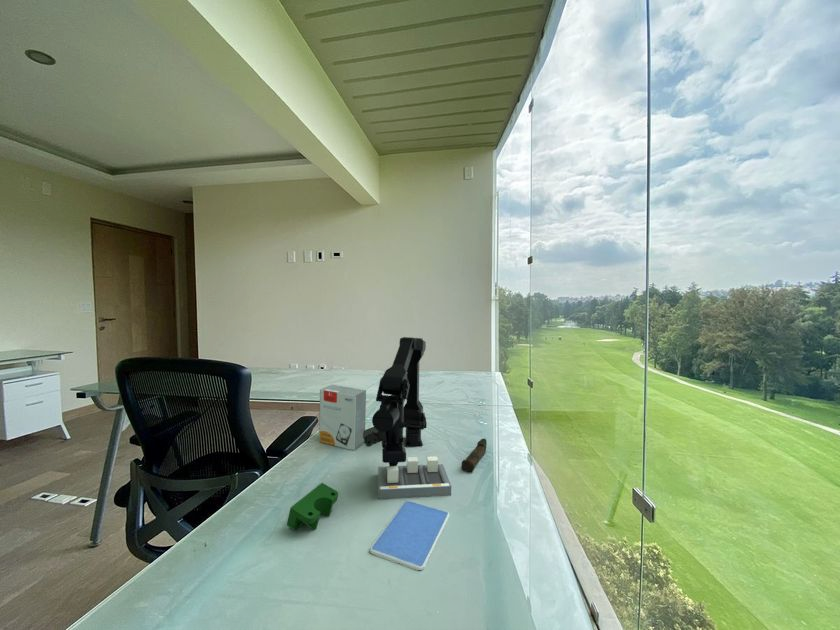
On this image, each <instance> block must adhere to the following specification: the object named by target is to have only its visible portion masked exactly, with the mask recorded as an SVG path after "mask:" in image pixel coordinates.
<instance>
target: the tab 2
mask: <svg viewBox="0 0 840 630" xmlns="http://www.w3.org/2000/svg"><path fill="white" fill-rule="evenodd" d="M418 465H419V460H418V457H417V456H411V457H410V456H409V457H406V466H407V473H418Z"/></svg>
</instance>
